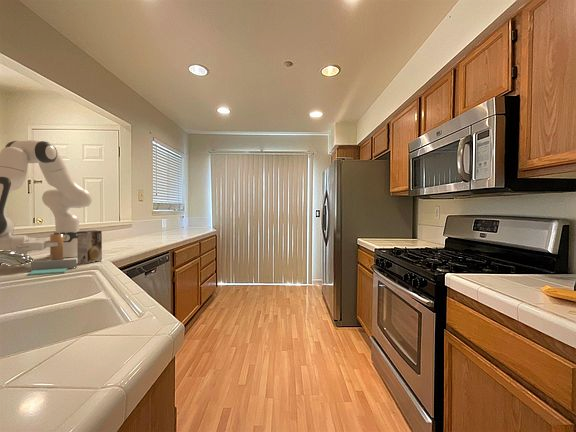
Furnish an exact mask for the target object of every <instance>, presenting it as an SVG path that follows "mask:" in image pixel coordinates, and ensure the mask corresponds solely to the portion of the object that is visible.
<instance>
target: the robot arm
mask: <svg viewBox="0 0 576 432" xmlns="http://www.w3.org/2000/svg"><path fill="white" fill-rule="evenodd" d="M64 161H65V160H64V159H63V158H62V155H61V154H60V153H59V152H58V150H57V148H56V147H55V145H54V144H52V143H51V142H48V141H45V140H40V141H39V140H32V139H31V140H30V139H29V140H28V139H27V140H12V141H9V142H8V143H7V144H6V145H5V147H3V148H2V149H1V150H0V250H11V251H16V252H19V253H23V254H24V255H27V254H28V253H29V252H33V251H43V250H45V249H47V248H50V247H55V246H58V242H53V243H50V237H49V238H48V237H47V238H46V237H32V236H29V235H26V234H22V235H19V234H18V235H13V234H14V229H15V223H14V221H13V220H12V219H11V218H9V217H8V216H6V215H5V209H6V207H7V202H8V198H9V197H10V194H11V193H12V192H13V191H15V190H18V189H20V188H21V187H22V186H23V185H24V183H25V180H26V177H27V172H28V165H29V164H38V166H39V169H40V171H41V173H42V176H44V178H45V180H46V184H48V185H49V186H51V187H53V188H54V189H47V190H45V191H44V192H43V194H42V196H41V197H42V198H41V200H42V203H43V204H44V205H45V206H46V207H47V208H49V210H50V211H51V213H52V215H53V216H54V224H55V232H60V234H63V259H64V258H77V232H79V231H80V219H79V217H78V216H77V215H75V214H74V213H73V212H72V211H71V209H81V208H87V207H89V206H90V205H91V204H92V201H93V197H92V194H91V192H90V191H89V190H87V189H84V188H83V187H81V186H80V185H79V184H78V183H77V182H76V181H75V180H74V179H73V178H72V176H71V174H70V172H69V170H68V168H67V166H66V163H65V162H64ZM46 258H50V254H48V255H47V256H46Z"/></svg>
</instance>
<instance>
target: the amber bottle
mask: <svg viewBox="0 0 576 432" xmlns="http://www.w3.org/2000/svg"><path fill="white" fill-rule="evenodd" d="M49 239H50V243H53V242H58V246H55V247H49V253H50V254H49V255H50V257H49V261H52V260H64V258H63V234H60V232H56V231H54V232H53V234H52V233H51V234H50V235H49Z"/></svg>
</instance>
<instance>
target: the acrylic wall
mask: <svg viewBox="0 0 576 432" xmlns="http://www.w3.org/2000/svg"><path fill="white" fill-rule="evenodd" d="M74 267H76V268H77V258H75V259H74V258H73V259H71V258H70V259H63V260H52V261H50V260H37V261H36V260H35V261H30V272H31V271H33V270H44V269H59V268H72V269H75V268H74Z"/></svg>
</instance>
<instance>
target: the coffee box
mask: <svg viewBox="0 0 576 432" xmlns="http://www.w3.org/2000/svg"><path fill="white" fill-rule="evenodd" d="M102 234H103V233H102V230H95V229H94V230H79V232H77V257H76V264H80V263H89V264H91V263H90V262H94V263H96V262H95V261H99V262H102V261H103V256H102V255H103V251H102V250H103V249H102V248H103V247H102V245H103V244H102V242H103V241H102V240H103V239H102ZM101 260H102V261H101Z"/></svg>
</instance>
